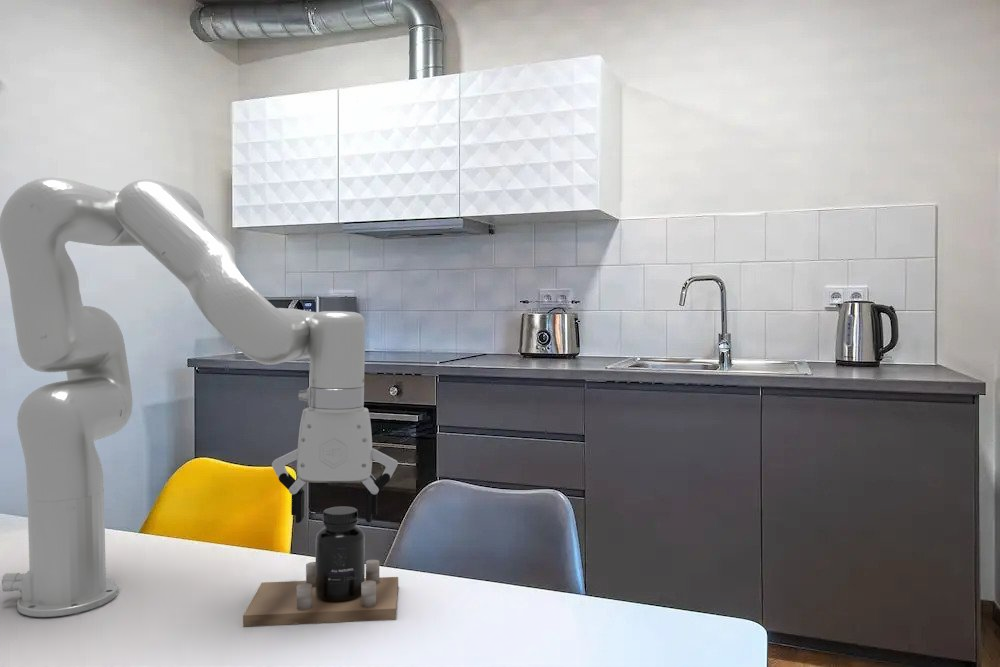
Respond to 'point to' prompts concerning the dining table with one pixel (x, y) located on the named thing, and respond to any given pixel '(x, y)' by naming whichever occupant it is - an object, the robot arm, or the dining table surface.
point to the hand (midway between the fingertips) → (334, 519)
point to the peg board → (322, 601)
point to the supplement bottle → (340, 556)
